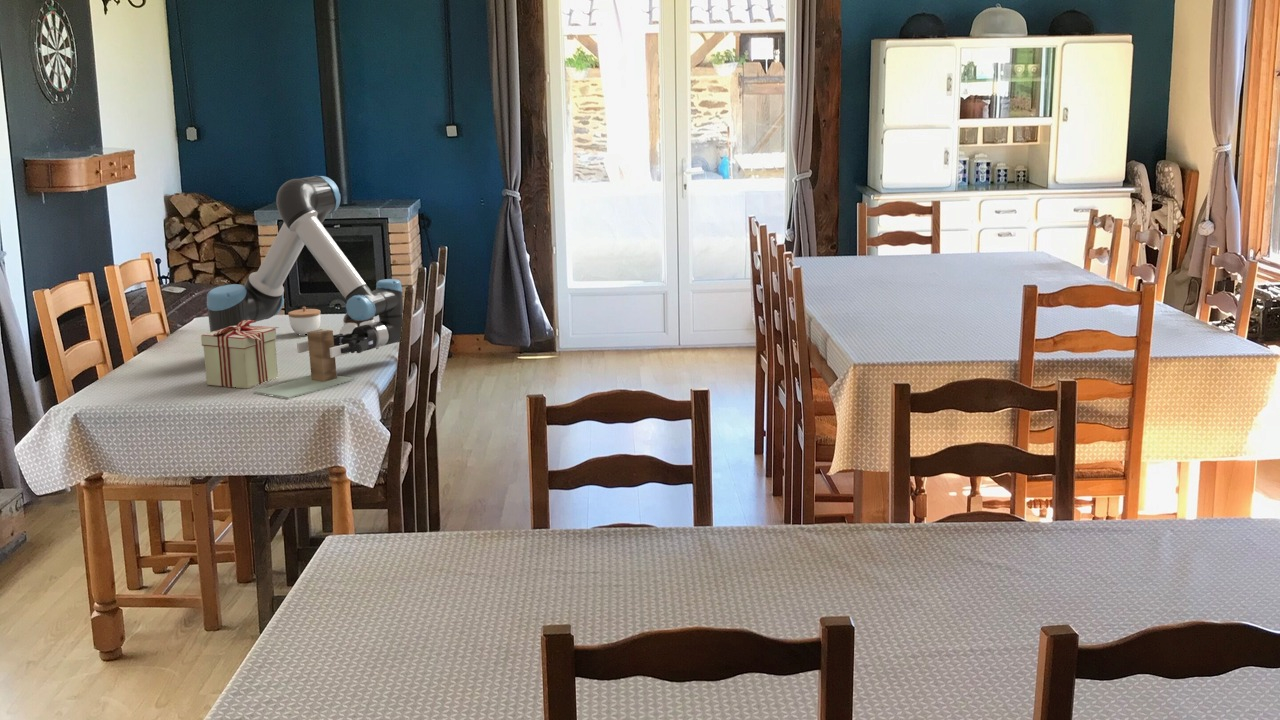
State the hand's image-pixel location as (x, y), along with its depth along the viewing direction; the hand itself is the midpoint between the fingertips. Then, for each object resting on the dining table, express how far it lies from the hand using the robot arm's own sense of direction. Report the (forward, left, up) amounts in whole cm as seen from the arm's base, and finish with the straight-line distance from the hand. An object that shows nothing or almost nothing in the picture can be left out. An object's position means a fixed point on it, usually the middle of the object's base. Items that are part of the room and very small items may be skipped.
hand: (314, 350), depth 348 cm
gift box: (-19, +11, -10) cm, 24 cm away
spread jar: (+15, +56, -10) cm, 59 cm away
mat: (-3, -3, -10) cm, 11 cm away
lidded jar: (-1, +77, -10) cm, 77 cm away
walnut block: (+2, +2, -9) cm, 9 cm away
